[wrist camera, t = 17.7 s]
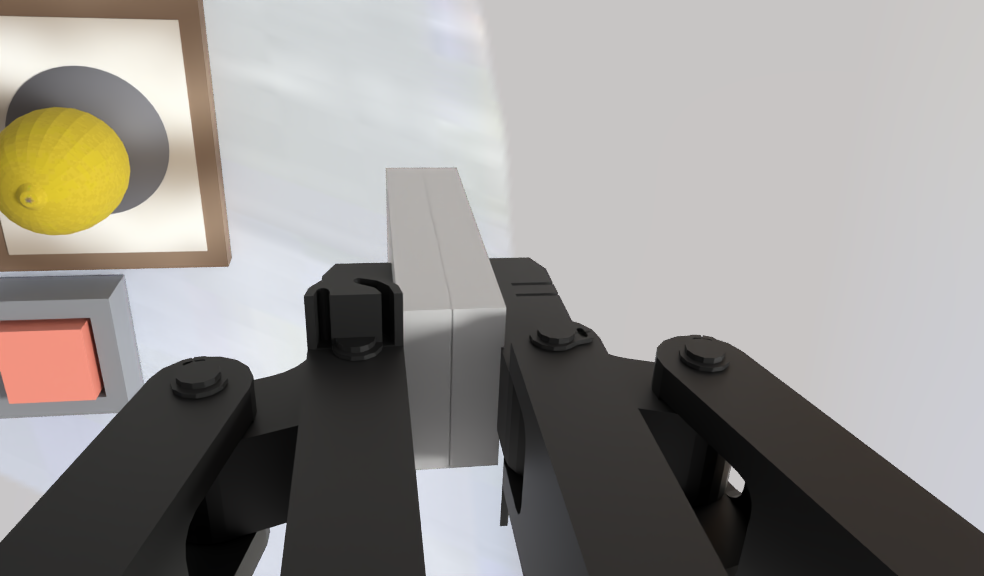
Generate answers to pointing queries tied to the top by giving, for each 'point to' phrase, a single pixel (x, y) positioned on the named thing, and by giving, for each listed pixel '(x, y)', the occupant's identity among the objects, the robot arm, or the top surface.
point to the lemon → (61, 171)
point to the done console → (110, 328)
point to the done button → (49, 360)
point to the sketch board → (123, 127)
